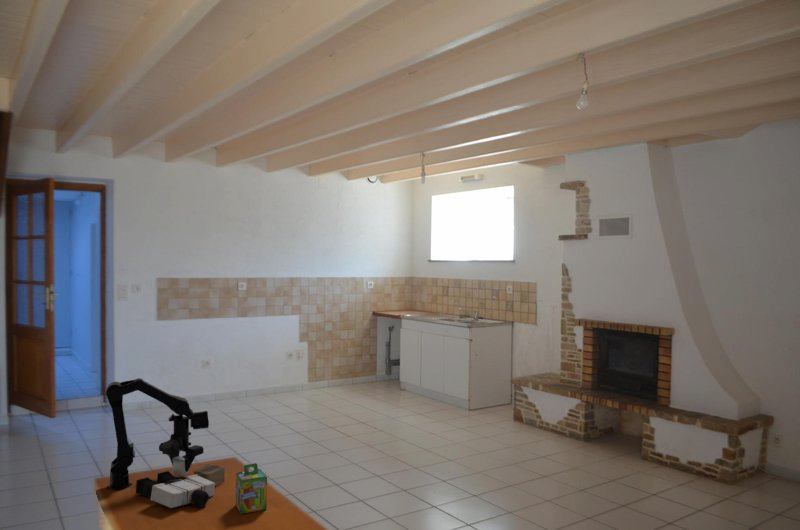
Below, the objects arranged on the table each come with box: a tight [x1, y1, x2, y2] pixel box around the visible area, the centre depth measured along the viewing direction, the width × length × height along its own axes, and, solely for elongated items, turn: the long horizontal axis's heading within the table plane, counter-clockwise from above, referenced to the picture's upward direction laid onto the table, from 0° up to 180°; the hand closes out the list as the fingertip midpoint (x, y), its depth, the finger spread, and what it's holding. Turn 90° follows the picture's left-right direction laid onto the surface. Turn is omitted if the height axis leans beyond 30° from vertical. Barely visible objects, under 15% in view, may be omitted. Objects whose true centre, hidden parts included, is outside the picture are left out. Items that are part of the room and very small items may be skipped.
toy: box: [135, 470, 216, 509], centre depth 210 cm, size 19×7×30 cm
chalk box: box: [235, 462, 268, 515], centre depth 202 cm, size 9×9×15 cm
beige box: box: [193, 463, 226, 487], centre depth 224 cm, size 8×8×6 cm
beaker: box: [172, 455, 190, 477], centre depth 230 cm, size 6×6×6 cm
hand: (181, 470), depth 230 cm, fingers closed on beaker, 6 cm apart
